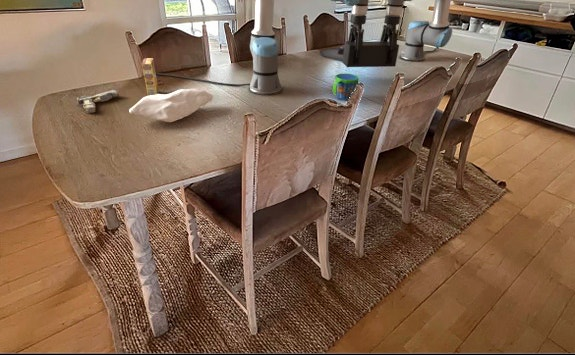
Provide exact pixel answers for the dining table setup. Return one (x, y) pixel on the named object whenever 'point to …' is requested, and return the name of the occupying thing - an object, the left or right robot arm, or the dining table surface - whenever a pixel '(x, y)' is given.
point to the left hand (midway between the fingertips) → (352, 61)
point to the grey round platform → (333, 53)
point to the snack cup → (344, 85)
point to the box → (369, 54)
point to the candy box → (150, 76)
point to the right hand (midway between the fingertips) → (385, 60)
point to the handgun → (95, 100)
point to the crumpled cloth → (171, 104)
